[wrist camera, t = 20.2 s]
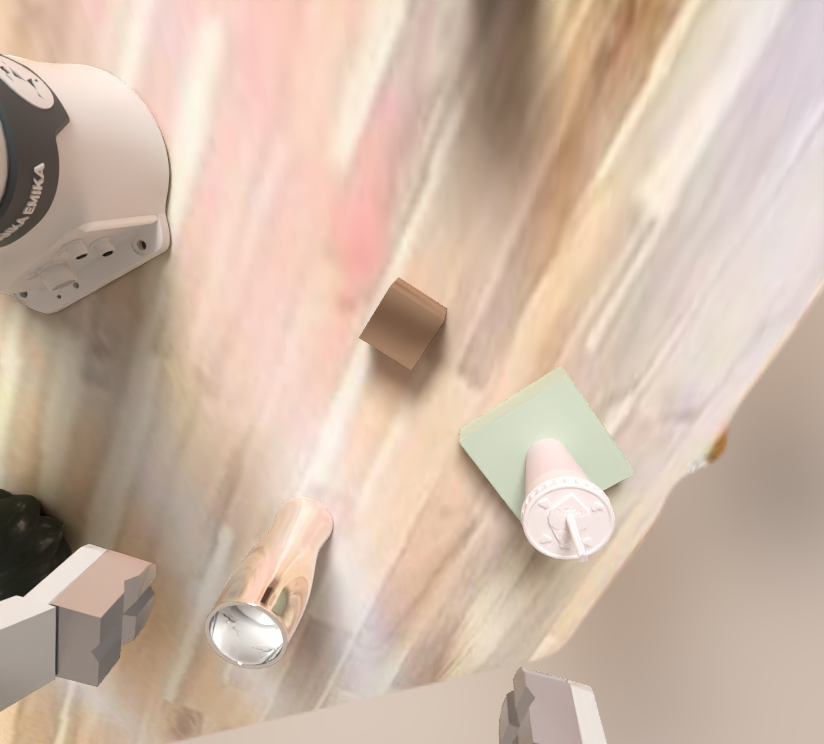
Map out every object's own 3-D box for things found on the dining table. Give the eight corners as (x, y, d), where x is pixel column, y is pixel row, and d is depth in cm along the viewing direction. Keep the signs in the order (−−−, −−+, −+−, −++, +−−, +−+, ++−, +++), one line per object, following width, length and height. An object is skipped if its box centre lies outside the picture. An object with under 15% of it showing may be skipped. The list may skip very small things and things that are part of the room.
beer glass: (313, 559, 54) (258, 685, 40) (260, 522, 53) (185, 637, 39) (350, 518, 52) (306, 636, 37) (296, 479, 51) (230, 584, 37)
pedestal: (524, 512, 49) (527, 531, 46) (459, 428, 47) (459, 442, 44) (625, 457, 46) (635, 473, 43) (561, 365, 44) (567, 375, 41)
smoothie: (588, 426, 43) (644, 524, 29) (580, 491, 45) (628, 611, 31) (512, 422, 43) (533, 517, 30) (508, 487, 45) (525, 603, 32)
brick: (416, 353, 45) (410, 370, 41) (370, 324, 45) (358, 337, 40) (446, 308, 44) (444, 320, 39) (398, 277, 43) (390, 285, 39)
